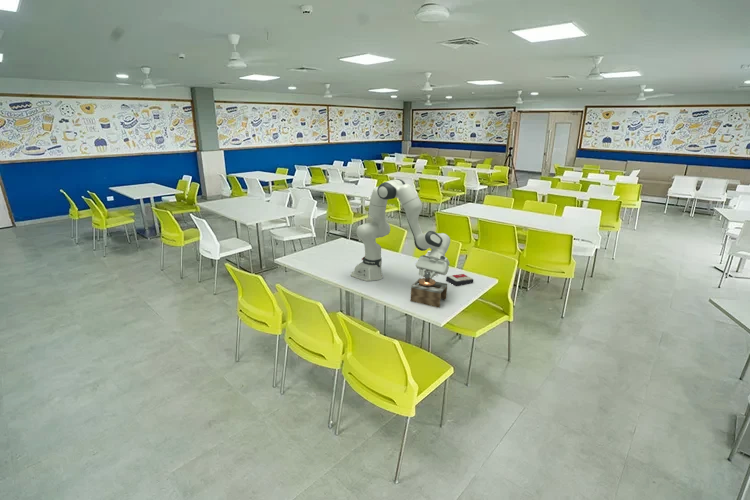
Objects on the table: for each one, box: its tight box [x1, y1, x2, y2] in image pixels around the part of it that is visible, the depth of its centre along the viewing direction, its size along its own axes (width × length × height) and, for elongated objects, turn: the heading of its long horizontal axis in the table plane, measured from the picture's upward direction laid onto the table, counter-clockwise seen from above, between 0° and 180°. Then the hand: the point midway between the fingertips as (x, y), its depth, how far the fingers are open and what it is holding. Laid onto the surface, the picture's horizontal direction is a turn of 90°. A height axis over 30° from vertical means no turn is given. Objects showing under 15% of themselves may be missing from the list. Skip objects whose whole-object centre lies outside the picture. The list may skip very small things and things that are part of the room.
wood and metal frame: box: [410, 277, 448, 308], centre depth 231 cm, size 18×14×10 cm
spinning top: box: [418, 272, 437, 288], centre depth 229 cm, size 10×10×12 cm
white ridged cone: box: [418, 250, 438, 278], centre depth 272 cm, size 13×13×18 cm
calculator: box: [445, 273, 474, 287], centre depth 261 cm, size 11×4×15 cm
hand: (426, 277), depth 228 cm, fingers closed on spinning top, 3 cm apart
